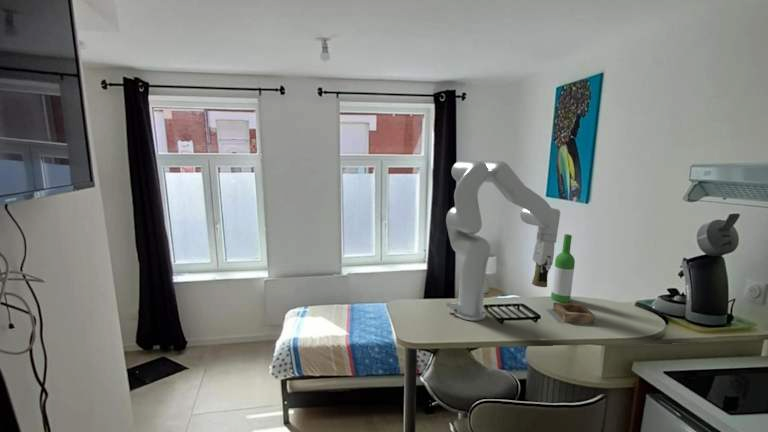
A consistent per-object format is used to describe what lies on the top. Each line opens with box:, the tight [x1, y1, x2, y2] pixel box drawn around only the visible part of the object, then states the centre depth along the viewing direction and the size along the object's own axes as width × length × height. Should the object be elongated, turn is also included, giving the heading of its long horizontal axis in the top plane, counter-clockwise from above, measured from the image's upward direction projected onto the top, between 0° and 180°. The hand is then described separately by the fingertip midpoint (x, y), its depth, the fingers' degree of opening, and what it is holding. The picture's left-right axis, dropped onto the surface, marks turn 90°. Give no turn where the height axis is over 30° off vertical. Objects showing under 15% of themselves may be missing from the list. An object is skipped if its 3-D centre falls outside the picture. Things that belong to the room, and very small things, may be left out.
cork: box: [531, 262, 548, 288], centre depth 152 cm, size 6×6×11 cm
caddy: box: [552, 302, 596, 324], centre depth 143 cm, size 11×11×4 cm
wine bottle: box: [550, 233, 575, 303], centre depth 160 cm, size 8×8×30 cm
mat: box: [545, 308, 597, 327], centre depth 144 cm, size 14×13×1 cm
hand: (540, 279), depth 153 cm, fingers closed on cork, 4 cm apart
